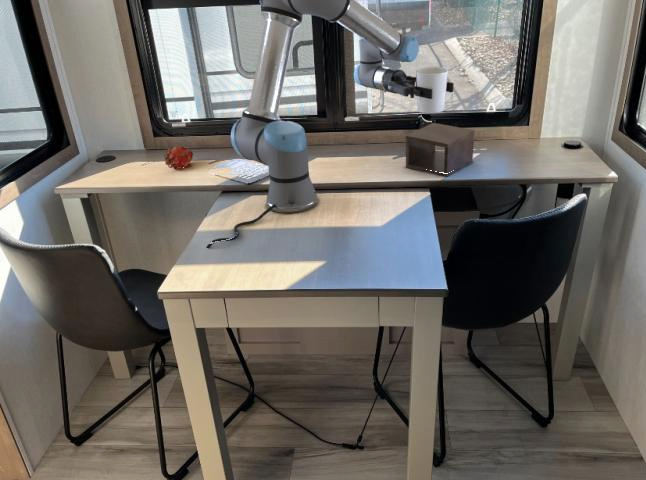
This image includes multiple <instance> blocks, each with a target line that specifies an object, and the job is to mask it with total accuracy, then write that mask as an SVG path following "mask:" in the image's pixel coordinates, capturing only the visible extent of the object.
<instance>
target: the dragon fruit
mask: <svg viewBox="0 0 646 480" xmlns="http://www.w3.org/2000/svg"><path fill="white" fill-rule="evenodd" d="M164 153H165V154H164V163H165V165H166V166H167V167H168V168H169V169H172V168H173V169H174V170H178V168H179V169H182V170H183V169H185V168H186V167H190V166H191V164H192V163H191V162H192V160H193V158H194V153H193V151H191V150H190V149H189V148H188V147H184V146H183V145H181V144H180V145H179V146H178V147H177V146H176V145H174V146H173V147H172V148H167V149H166V151H165V152H164ZM185 165H186V166H185ZM183 167H184V168H183Z"/></svg>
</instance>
